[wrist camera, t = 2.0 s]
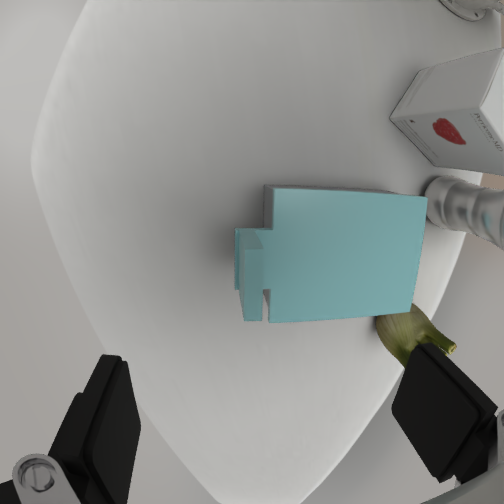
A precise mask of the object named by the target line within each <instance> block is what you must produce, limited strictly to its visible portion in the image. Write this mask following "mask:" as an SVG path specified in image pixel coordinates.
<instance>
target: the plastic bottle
mask: <svg viewBox="0 0 504 504" xmlns="http://www.w3.org/2000/svg"><path fill="white" fill-rule="evenodd" d="M424 197H428V201H427V211H426V214H427V217H428V218H429V219H430V221H432V222H433V223H434V224H435V225H437V226H438V227H440V228H442V229H447V230H454V231H458V230H459V231H463V232H467V233H471V234H475V235H476V236H479V237H481V238H483V239H485V240H487V241H489V242H491V243H493V244H495V245H496V246H497V247H499V248H501V249H502V250H504V190H501V189H494V188H486V187H481V186H478V185H475V184H472V183H468V182H466V181H464V180H462V179H460V178H457V177H454V176H443V177H438V178H436V179H435V180H433V181H432V182H431V183H430V185H429V186H428V187H427V189H426V191H425V194H424Z"/></svg>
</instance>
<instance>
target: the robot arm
mask: <svg viewBox="0 0 504 504" xmlns="http://www.w3.org/2000/svg"><path fill="white" fill-rule="evenodd" d="M440 1H441V2H442V3H443V4H444V5H445V6H446V7H447V8H448V9H450V10H451V11H452V12H454V13H455V14H456V15H458V16H460V17H462V18H464V19H466V20H470V21H476V20H479V19H482V18H483V17H484V15H485V14H486V9H487V8H491V9H495V10H496V11H498V12H499V13H501V14H502V15H504V5H503V4H502V3H500V2H498V1H500V0H440ZM497 408H498V407H497V406H496V404H494V403H493V402H492V401H491V399H490V398H489V397H488V396H486V394H485V393H484V392H483V391H482V390H481V389H480V388H479V387H478V386H477V385H476V384H475V383H474V382H473V381H472V380H471V379H470V378H469V377H468V376H467V375H466V374H465V373H463V372H462V371H461V370H460V369H459V368H458V367H457V366H456V365H455V364H454V363H453V362H452V361H451V360H450V359H449V358H448V357H447V356H446V355H445V354H444V353H443V352H442V351H441V350H440V349H438V348H437V347H436V346H435V345H434V344H433V343H424V344H418V345H416V346H415V348H414V349H413V350H412V351H411V353H410V356H409V359H408V363H407V366H406V368H405V371H404V374H403V377H402V380H401V383H400V385H399V388H398V391H397V394H396V396H395V399H394V401H393V404H392V414H393V416H394V417H395V419H396V420H397V422H398V423H399V425H400V426H401V428H402V430H403V431H404V433H405V434H406V436H407V437H408V439H409V440H410V442H411V444H412V445H413V447H414V448H415V450H416V451H417V453H418V455H419V456H420V458H421V459H422V461H423V462H424V464H425V466H426V467H427V469H428V470H429V472H430V473H431V475H432V476H433V477H436V478H437V480H438V481H439V483H441V482H444V481H446V480H448V479H450V478H452V476H453V475H455V476H456V481H455V487H454V489H452V490H450V491H448V492H446V493H444V494H442V495H440V496H437V497H435V498H433V499H430V500H428V501H426V502H423V503H421V504H504V410H502V411H501V412H499V414H498V416H497V417H496V416H495V415H494V413H495V412H496V410H497ZM140 423H141V422H140V418H139V414H138V410H137V405H136V401H135V397H134V392H133V387H132V383H131V378H130V373H129V368H128V363H127V361H122V358H121V357H120V356H116V355H104V354H103V355H102V356H101V357H100V359H99V361H98V363H97V365H96V367H95V369H94V371H93V373H92V375H91V377H90V379H89V381H88V383H87V385H86V387H85V389H84V392H83V393H80V392H79V393H77V394H76V396H75V397H74V399H73V401H72V403H71V405H70V407H69V409H68V412H67V413H66V415H65V418H64V420H63V422H62V424H61V426H60V428H59V431H58V433H57V435H56V437H55V439H54V442H53V444H52V446H51V449H50V451H49V453H48V456H46V455H44V454H31V455H27V456H25V457H23V458H21V459H20V460H19V461H18V462H17V463H16V465H15V466H14V468H13V473H12V477H13V479H12V480H9V481H7V482H4V483H1V484H0V504H127V500H128V494H129V488H130V483H131V477H132V472H133V466H134V461H135V456H136V451H137V446H138V441H139V436H140V431H141V424H140Z"/></svg>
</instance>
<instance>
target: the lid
mask: <svg viewBox="0 0 504 504" xmlns="http://www.w3.org/2000/svg"><path fill="white" fill-rule="evenodd" d="M427 201H428V197H424V196H414V195H403V194H391V193H377V192H363V191H346V190H326V189H301V188H273V203H272V228H235V290H237V289H239V294H240V300H241V306H242V312H243V318H244V321H262V303H263V289H269V309H268V320H269V323H282V322H301V321H317V320H331V319H344V318H355V317H366V316H377V315H386V314H395V313H404V312H410V308H411V304H412V299H413V294H414V290H415V285H416V279H417V274H418V268H419V262H420V256H421V250H422V243H423V236H424V228H425V220H426V211H427Z"/></svg>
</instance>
